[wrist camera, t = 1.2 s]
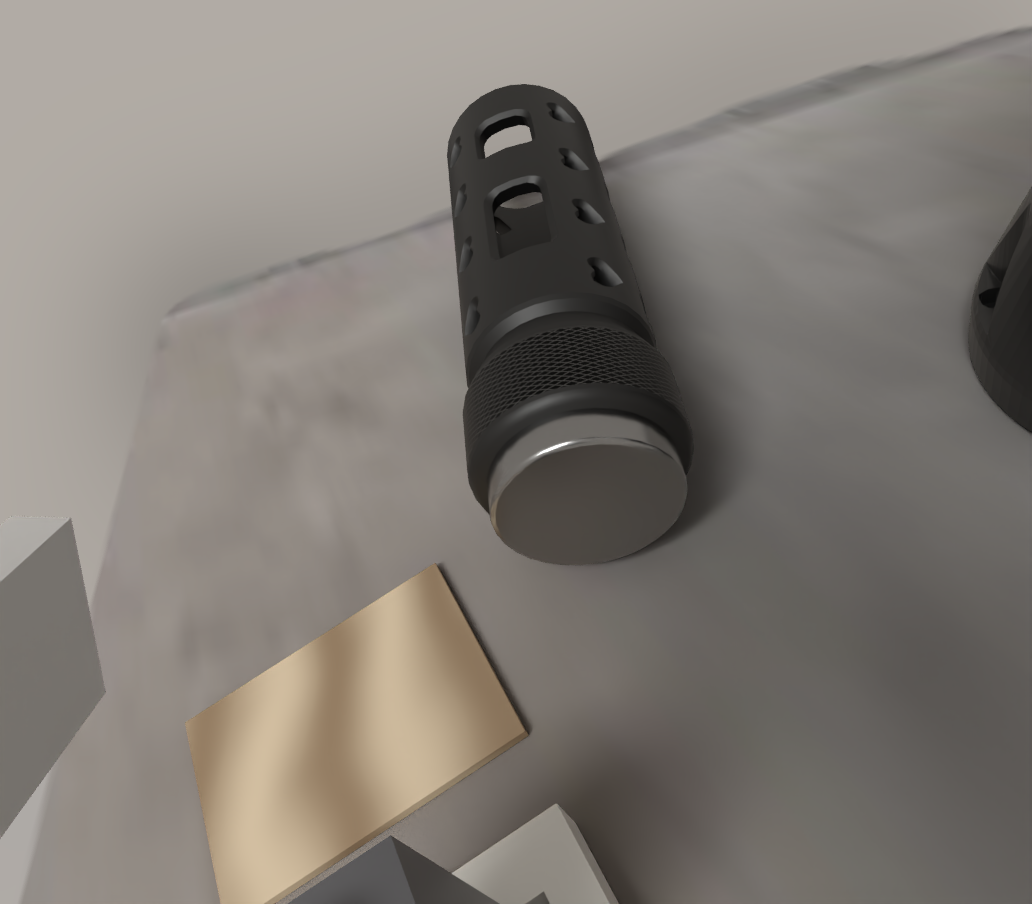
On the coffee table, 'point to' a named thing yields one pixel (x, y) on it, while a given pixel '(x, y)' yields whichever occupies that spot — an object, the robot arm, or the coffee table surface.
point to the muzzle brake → (558, 345)
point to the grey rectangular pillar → (392, 881)
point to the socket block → (540, 865)
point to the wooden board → (345, 740)
